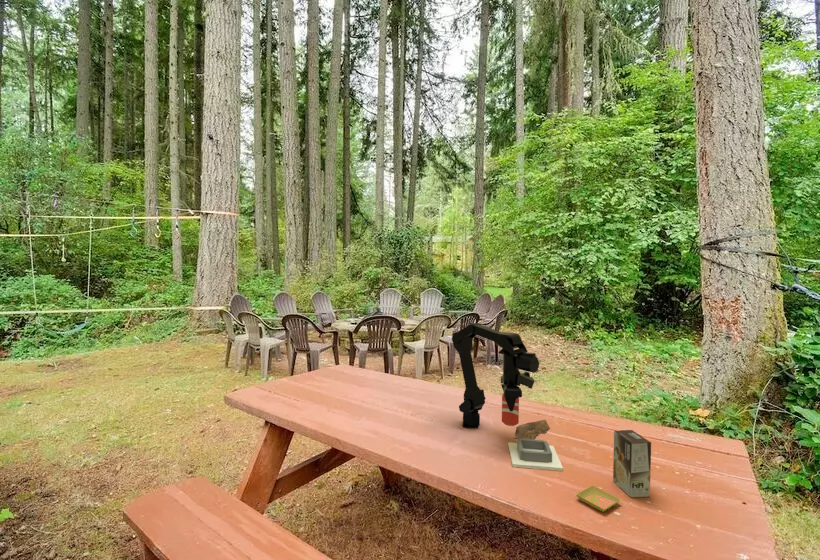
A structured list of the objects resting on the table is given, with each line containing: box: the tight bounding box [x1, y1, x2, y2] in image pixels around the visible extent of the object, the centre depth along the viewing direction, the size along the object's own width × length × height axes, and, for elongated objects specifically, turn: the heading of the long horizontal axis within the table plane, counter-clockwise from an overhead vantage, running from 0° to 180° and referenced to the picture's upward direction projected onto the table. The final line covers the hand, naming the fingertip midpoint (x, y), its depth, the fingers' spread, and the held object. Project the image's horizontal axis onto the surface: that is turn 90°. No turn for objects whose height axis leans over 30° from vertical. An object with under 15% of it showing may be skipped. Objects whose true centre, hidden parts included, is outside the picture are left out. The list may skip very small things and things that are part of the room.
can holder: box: [507, 439, 564, 472], centre depth 137 cm, size 16×16×4 cm
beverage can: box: [501, 393, 520, 427], centre depth 149 cm, size 6×6×12 cm
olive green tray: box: [575, 485, 621, 513], centre depth 112 cm, size 9×9×2 cm
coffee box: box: [612, 429, 652, 498], centre depth 118 cm, size 9×6×16 cm
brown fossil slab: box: [513, 419, 551, 440], centre depth 161 cm, size 26×11×1 cm, turn 133°
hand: (510, 407), depth 149 cm, fingers closed on beverage can, 6 cm apart
